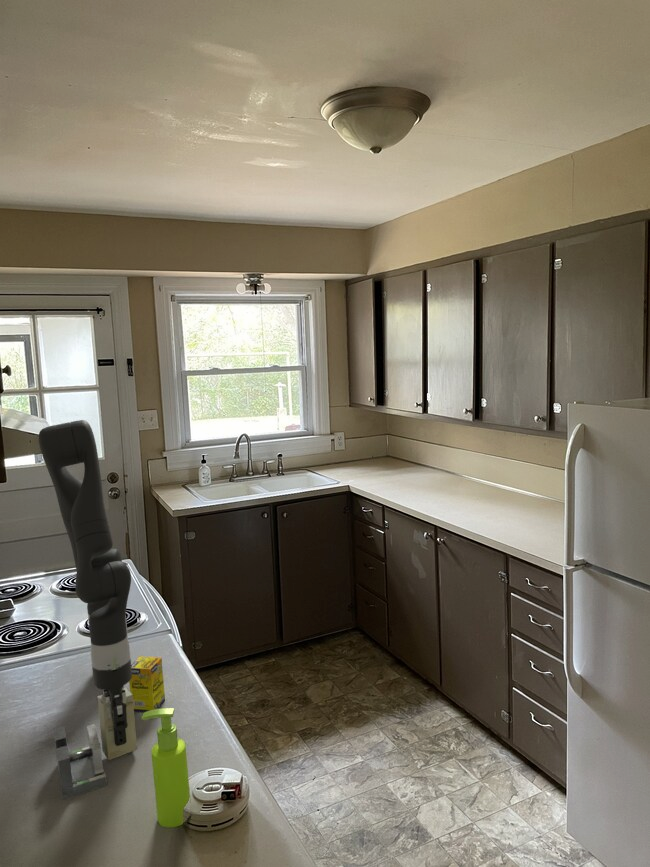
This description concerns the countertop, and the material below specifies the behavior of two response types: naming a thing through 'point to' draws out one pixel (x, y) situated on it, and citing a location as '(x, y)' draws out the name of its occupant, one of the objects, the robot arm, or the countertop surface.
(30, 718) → the countertop surface
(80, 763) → the grey bracket with rod
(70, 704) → the countertop surface
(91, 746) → the grey t-shaped piece
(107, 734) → the skincare box
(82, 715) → the countertop surface
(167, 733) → the soap dispenser
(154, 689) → the supplement box
